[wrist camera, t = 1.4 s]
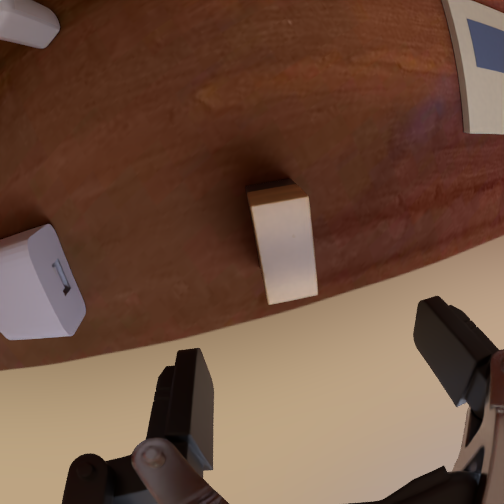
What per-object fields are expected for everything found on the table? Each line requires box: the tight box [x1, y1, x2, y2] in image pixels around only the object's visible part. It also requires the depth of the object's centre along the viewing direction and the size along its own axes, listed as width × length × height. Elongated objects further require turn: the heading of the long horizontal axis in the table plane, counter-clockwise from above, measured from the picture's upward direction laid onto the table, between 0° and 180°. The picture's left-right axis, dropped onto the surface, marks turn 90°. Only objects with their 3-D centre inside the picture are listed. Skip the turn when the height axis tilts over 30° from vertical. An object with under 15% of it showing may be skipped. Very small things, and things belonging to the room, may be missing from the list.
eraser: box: [245, 179, 318, 305], centre depth 22 cm, size 7×4×6 cm, turn 10°
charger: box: [0, 224, 86, 340], centre depth 22 cm, size 5×9×15 cm
